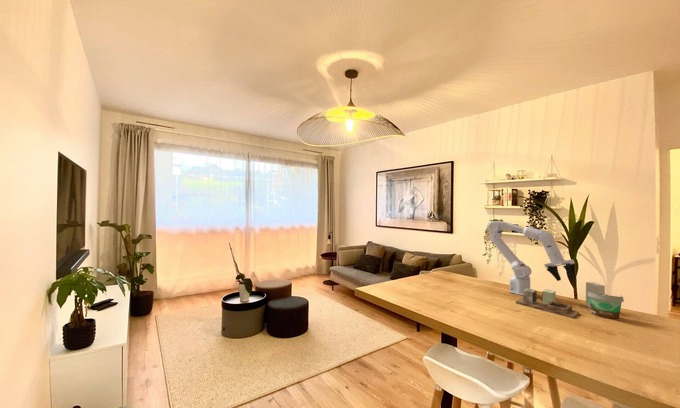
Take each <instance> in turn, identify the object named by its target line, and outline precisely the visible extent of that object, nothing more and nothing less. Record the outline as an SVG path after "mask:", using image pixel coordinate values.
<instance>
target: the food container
mask: <svg viewBox="0 0 680 408" xmlns="http://www.w3.org/2000/svg"><path fill="white" fill-rule="evenodd" d="M587 296H589V299H590V306H591V308H590V314H591V315H594V316H596V317H599V318H602V317H603V319H607V318H608V320H619V319H620V316H621V315H620V314H621V308H622V303H624V301H625V300H624V296H623V295H620V296H615V295H610V294H606V293H605V294H594V293H591V292H589V293H588V294H587Z"/></svg>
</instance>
